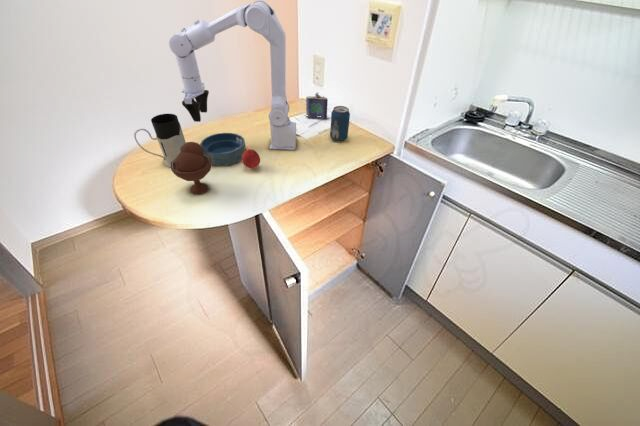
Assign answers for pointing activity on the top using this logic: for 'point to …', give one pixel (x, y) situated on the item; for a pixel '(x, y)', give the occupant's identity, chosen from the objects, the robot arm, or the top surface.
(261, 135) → the top surface
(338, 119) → the soda can
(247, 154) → the pomegranate
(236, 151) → the bowl
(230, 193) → the top surface
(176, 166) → the ice cream bowl
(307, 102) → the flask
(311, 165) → the top surface
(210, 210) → the top surface
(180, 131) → the glass holder
